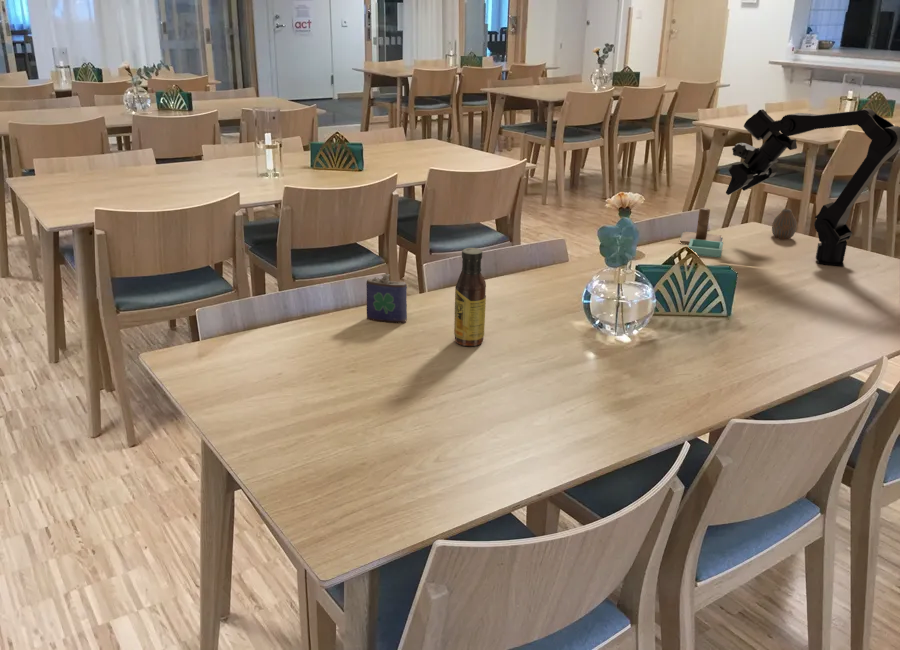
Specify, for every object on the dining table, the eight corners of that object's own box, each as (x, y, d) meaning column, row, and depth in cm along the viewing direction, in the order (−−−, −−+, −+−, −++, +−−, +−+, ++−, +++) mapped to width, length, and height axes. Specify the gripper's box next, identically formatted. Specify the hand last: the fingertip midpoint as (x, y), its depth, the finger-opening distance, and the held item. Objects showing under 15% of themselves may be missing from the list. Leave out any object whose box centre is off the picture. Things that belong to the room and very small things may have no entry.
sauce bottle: (452, 336, 169) (454, 245, 162) (482, 335, 170) (485, 244, 163) (455, 348, 163) (457, 254, 156) (486, 348, 164) (489, 254, 156)
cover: (720, 237, 243) (725, 206, 240) (718, 247, 234) (723, 215, 230) (683, 234, 247) (687, 203, 243) (679, 243, 237) (683, 211, 234)
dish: (722, 250, 232) (723, 241, 231) (720, 258, 224) (721, 250, 223) (689, 246, 235) (690, 238, 234) (687, 255, 227) (688, 246, 226)
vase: (796, 241, 242) (801, 213, 239) (772, 240, 243) (777, 211, 240) (792, 235, 248) (797, 207, 245) (768, 234, 249) (773, 206, 246)
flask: (408, 320, 178) (408, 274, 174) (404, 325, 175) (403, 278, 171) (369, 315, 180) (367, 269, 176) (364, 320, 177) (362, 274, 173)
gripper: (766, 129, 236) (732, 169, 247) (733, 135, 224) (699, 177, 235) (793, 155, 232) (757, 194, 243) (761, 162, 220) (725, 203, 231)
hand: (735, 191), depth 238 cm, fingers open, 9 cm apart
